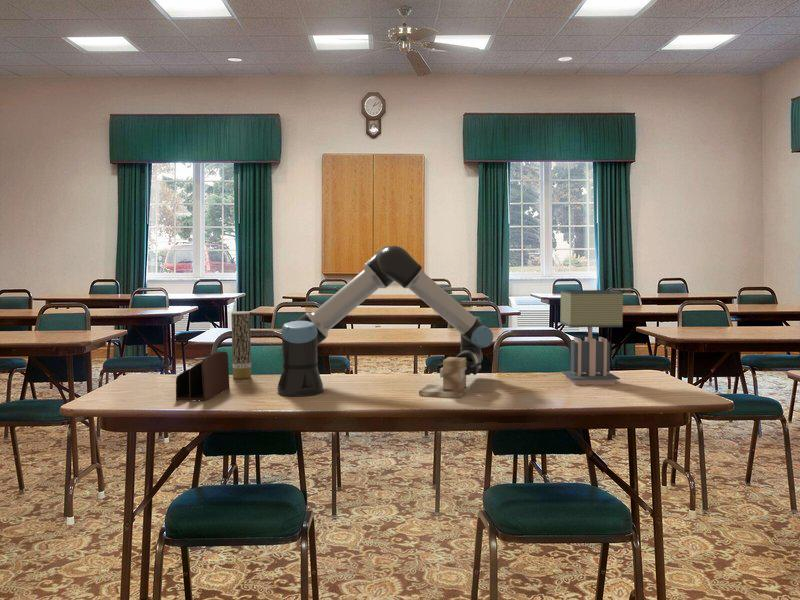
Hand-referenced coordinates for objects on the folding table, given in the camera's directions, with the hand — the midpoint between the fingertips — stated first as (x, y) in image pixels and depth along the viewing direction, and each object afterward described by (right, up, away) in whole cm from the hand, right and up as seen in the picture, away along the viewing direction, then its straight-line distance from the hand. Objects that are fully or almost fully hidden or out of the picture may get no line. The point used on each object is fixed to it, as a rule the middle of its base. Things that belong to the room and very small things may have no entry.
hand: (451, 374), depth 200 cm
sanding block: (+2, -6, +5) cm, 8 cm away
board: (-2, -7, +6) cm, 10 cm away
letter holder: (-82, -8, +7) cm, 83 cm away
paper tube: (-76, -6, +36) cm, 85 cm away
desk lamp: (+52, -6, +25) cm, 58 cm away
